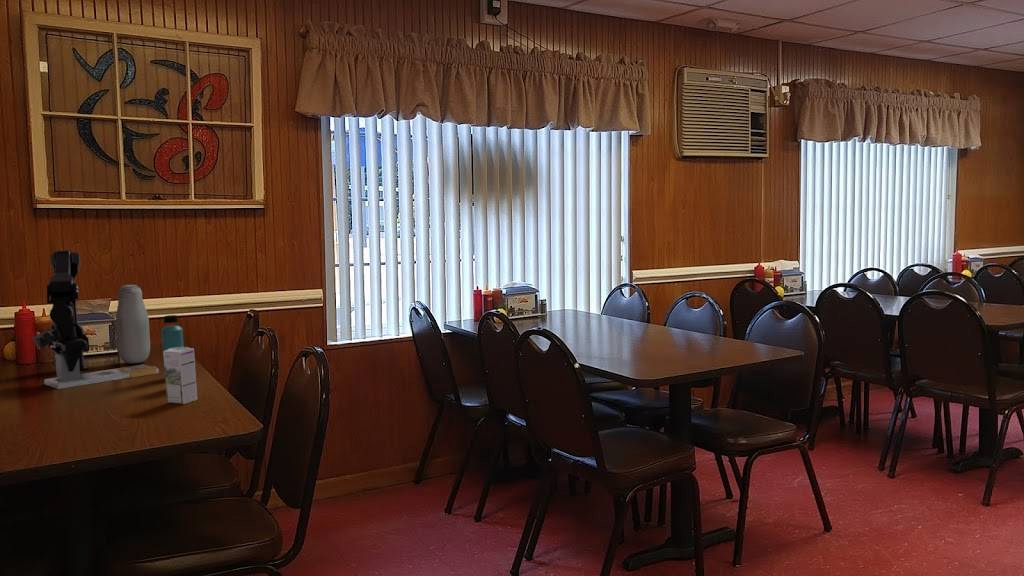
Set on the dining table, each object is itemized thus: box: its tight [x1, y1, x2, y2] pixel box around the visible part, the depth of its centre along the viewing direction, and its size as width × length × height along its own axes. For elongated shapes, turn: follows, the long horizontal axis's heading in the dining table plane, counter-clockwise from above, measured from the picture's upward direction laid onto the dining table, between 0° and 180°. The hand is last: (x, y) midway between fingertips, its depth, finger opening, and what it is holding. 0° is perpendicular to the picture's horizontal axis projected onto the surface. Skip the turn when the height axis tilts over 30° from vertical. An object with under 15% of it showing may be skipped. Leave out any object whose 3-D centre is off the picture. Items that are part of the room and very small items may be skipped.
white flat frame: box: [44, 364, 160, 390], centre depth 246 cm, size 13×30×2 cm, turn 138°
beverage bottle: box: [160, 314, 185, 375], centre depth 243 cm, size 6×7×20 cm
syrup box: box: [162, 347, 198, 405], centre depth 209 cm, size 6×6×14 cm
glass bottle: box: [115, 284, 151, 365], centre depth 272 cm, size 10×10×28 cm
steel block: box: [54, 352, 81, 381], centre depth 239 cm, size 5×5×8 cm
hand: (68, 370), depth 239 cm, fingers closed on steel block, 5 cm apart
